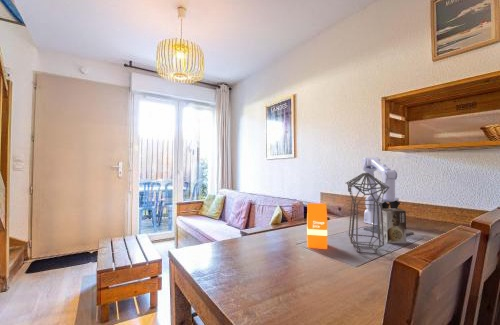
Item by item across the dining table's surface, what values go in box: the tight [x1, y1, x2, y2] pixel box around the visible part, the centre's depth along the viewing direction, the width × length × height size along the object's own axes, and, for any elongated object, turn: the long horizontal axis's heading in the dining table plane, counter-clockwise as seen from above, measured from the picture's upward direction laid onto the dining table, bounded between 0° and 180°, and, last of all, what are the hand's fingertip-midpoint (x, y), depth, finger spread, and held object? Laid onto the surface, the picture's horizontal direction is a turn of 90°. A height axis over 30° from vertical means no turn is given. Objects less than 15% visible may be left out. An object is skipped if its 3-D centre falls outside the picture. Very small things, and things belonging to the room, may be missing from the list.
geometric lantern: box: [345, 172, 390, 255], centre depth 106 cm, size 16×16×35 cm
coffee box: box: [382, 208, 407, 245], centre depth 119 cm, size 9×6×16 cm
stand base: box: [363, 224, 415, 236], centre depth 137 cm, size 18×18×5 cm
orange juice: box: [306, 202, 328, 250], centre depth 113 cm, size 8×9×20 cm
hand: (389, 214), depth 137 cm, fingers open, 7 cm apart
